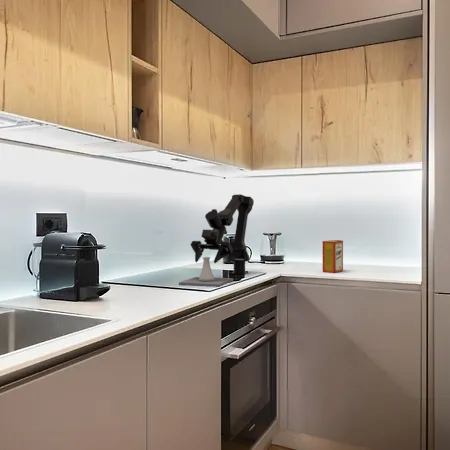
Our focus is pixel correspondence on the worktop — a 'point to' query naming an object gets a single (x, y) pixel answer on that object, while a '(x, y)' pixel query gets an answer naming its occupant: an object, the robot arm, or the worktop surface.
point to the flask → (206, 271)
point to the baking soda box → (332, 256)
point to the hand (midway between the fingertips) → (205, 262)
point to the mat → (206, 282)
